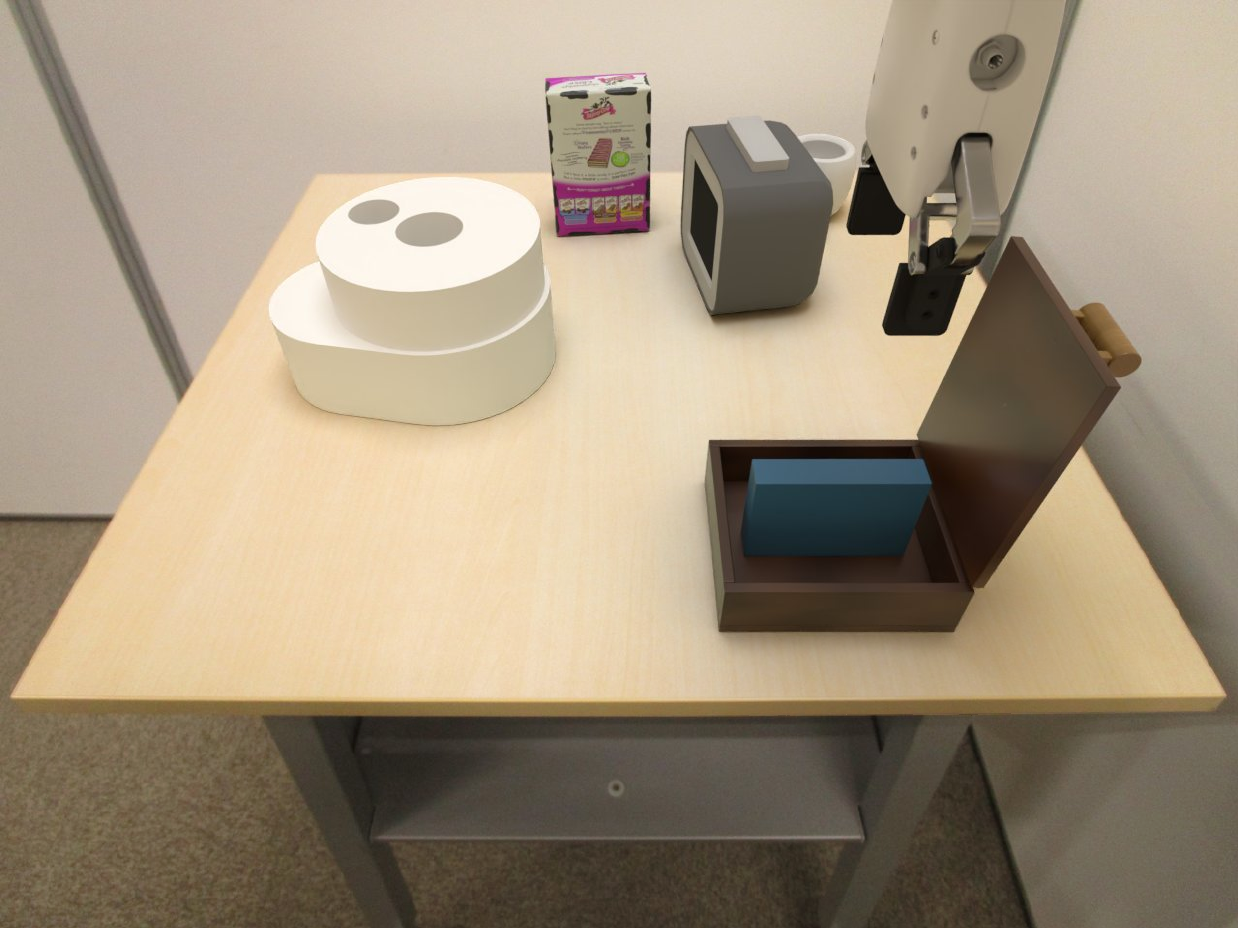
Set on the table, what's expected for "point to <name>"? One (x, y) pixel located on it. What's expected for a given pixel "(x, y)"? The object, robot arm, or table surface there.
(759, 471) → the blue hardcover book
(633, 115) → the candy bar box
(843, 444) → the box
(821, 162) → the mug
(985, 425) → the lid
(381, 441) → the table surface
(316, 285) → the container
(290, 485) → the table surface
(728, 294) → the alarm clock
